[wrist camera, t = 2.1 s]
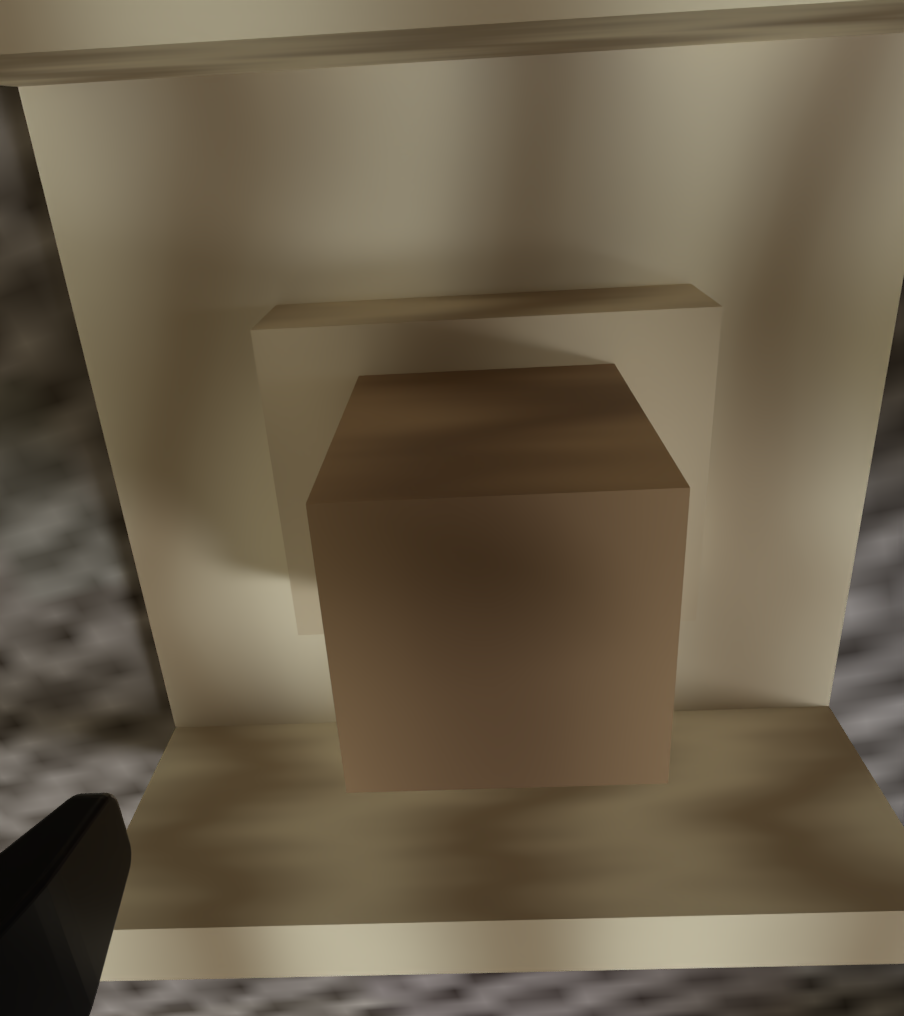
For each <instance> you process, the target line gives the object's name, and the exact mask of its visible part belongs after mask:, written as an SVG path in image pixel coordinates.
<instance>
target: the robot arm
mask: <svg viewBox="0 0 904 1016" xmlns="http://www.w3.org/2000/svg"><path fill="white" fill-rule="evenodd" d="M131 856H132V852H131V845H130V841H129V837H128V834H127V831H126V827H125V824H124V821H123V817H122V814H121V810H120V807H119V804H118V801H117V799H116V798H115V797H114V796H113V795H112V794H109V793H85V794H77V795H75V796H73V797H71V798H70V799H68V800H67V801H65V802H64V803H63V804H62V805H60V806H59V807H58V808H57V809H55V810H54V811H53V812H52V813H50V814H49V815H48V816H47V817H45V818H44V819H43V820H41V821H40V822H39V823H38V824H36V825H35V826H34V827H33V828H31V829H30V830H29V831H28V832H26V833H25V834H24V835H23V836H21V837H20V838H19V839H17V840H16V841H15V842H14V843H12V844H11V845H10V846H9V847H7V848H6V849H5V850H4V851H2V852H1V853H0V1016H89V1015H90V1012H91V1009H92V1006H93V1003H94V999H95V996H96V993H97V989H98V986H99V982H100V979H101V975H102V971H103V967H104V964H105V960H106V956H107V953H108V949H109V945H110V941H111V938H112V934H113V930H114V926H115V923H116V919H117V915H118V912H119V908H120V904H121V900H122V897H123V893H124V889H125V886H126V882H127V878H128V874H129V871H130V866H131Z"/></svg>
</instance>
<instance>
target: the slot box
mask: <svg viewBox="0 0 904 1016" xmlns="http://www.w3.org/2000/svg"><path fill="white" fill-rule="evenodd" d="M0 86H14V87H18V89H19V93H20V98H21V102H22V106H23V110H24V114H25V118H26V122H27V126H28V130H29V134H30V138H31V142H32V146H33V150H34V154H35V158H36V163H37V167H38V171H39V175H40V179H41V183H42V187H43V191H44V195H45V199H46V203H47V207H48V211H49V215H50V219H51V224H52V228H53V232H54V236H55V240H56V244H57V248H58V252H59V256H60V260H61V264H62V268H63V272H64V276H65V280H66V284H67V289H68V293H69V297H70V301H71V305H72V309H73V313H74V317H75V321H76V325H77V329H78V333H79V337H80V341H81V345H82V349H83V354H84V358H85V362H86V366H87V370H88V374H89V378H90V382H91V386H92V390H93V394H94V398H95V402H96V406H97V410H98V414H99V419H100V423H101V427H102V431H103V435H104V439H105V443H106V447H107V451H108V455H109V459H110V463H111V467H112V471H113V475H114V480H115V484H116V488H117V492H118V496H119V500H120V504H121V508H122V512H123V516H124V520H125V524H126V528H127V532H128V536H129V540H130V545H131V549H132V553H133V557H134V561H135V565H136V569H137V573H138V577H139V581H140V585H141V589H142V593H143V597H144V601H145V605H146V610H147V614H148V618H149V622H150V626H151V630H152V634H153V638H154V642H155V646H156V650H157V654H158V658H159V662H160V666H161V671H162V675H163V679H164V683H165V687H166V691H167V695H168V699H169V703H170V707H171V711H172V715H173V719H174V723H175V727H176V728H175V730H174V732H173V734H172V736H171V738H170V740H169V742H168V745H167V747H166V749H165V751H164V753H163V755H162V757H161V759H160V761H159V763H158V766H157V768H156V770H155V772H154V774H153V776H152V778H151V780H150V782H149V784H148V787H147V789H146V791H145V793H144V795H143V797H142V799H141V801H140V803H139V805H138V808H137V810H136V812H135V814H134V816H133V818H132V820H131V822H130V824H129V826H128V829H127V834H128V837H129V841H130V845H131V852H132V856H131V866H130V871H129V874H128V878H127V882H126V886H125V889H124V893H123V897H122V900H121V904H120V908H119V912H118V915H117V919H116V923H115V926H114V930H113V934H112V938H111V941H110V945H109V949H108V953H107V956H106V960H105V964H104V967H103V971H102V975H101V979H100V981H134V980H180V979H225V978H271V977H316V976H362V975H408V974H453V973H499V972H544V971H590V970H635V969H681V968H727V967H772V966H818V965H863V964H904V827H903V825H902V824H901V822H900V821H899V819H898V817H897V816H896V814H895V812H894V811H893V809H892V808H891V806H890V804H889V803H888V801H887V800H886V798H885V796H884V795H883V793H882V791H881V790H880V788H879V787H878V785H877V783H876V782H875V780H874V779H873V777H872V775H871V774H870V772H869V770H868V769H867V767H866V766H865V764H864V762H863V761H862V759H861V758H860V756H859V754H858V753H857V751H856V750H855V748H854V746H853V745H852V743H851V741H850V740H849V738H848V737H847V735H846V733H845V732H844V730H843V729H842V727H841V725H840V724H839V722H838V720H837V719H836V717H835V716H834V714H833V712H832V711H831V709H830V708H829V701H830V695H831V690H832V684H833V678H834V672H835V667H836V661H837V655H838V649H839V644H840V638H841V632H842V627H843V621H844V615H845V609H846V604H847V598H848V592H849V586H850V581H851V575H852V569H853V564H854V558H855V552H856V546H857V541H858V535H859V529H860V523H861V518H862V512H863V506H864V500H865V495H866V489H867V483H868V478H869V472H870V466H871V460H872V455H873V449H874V443H875V437H876V432H877V426H878V420H879V415H880V409H881V403H882V397H883V392H884V386H885V380H886V374H887V369H888V363H889V357H890V351H891V346H892V340H893V334H894V329H895V323H896V317H897V311H898V306H899V300H900V294H901V288H902V283H903V277H904V0H0ZM593 364H615V365H616V367H617V369H618V370H619V372H620V374H621V375H622V377H623V378H624V380H625V382H626V383H627V385H628V387H629V388H630V390H631V391H632V393H633V395H634V396H635V398H636V400H637V401H638V403H639V405H640V406H641V408H642V409H643V411H644V413H645V414H646V416H647V418H648V419H649V421H650V423H651V424H652V426H653V427H654V429H655V431H656V432H657V434H658V436H659V437H660V439H661V441H662V442H663V444H664V445H665V447H666V449H667V450H668V452H669V454H670V455H671V457H672V458H673V460H674V462H675V463H676V465H677V467H678V468H679V470H680V472H681V473H682V475H683V476H684V478H685V480H686V481H687V483H688V485H689V486H690V499H689V512H688V525H687V539H686V552H685V565H684V578H683V592H682V605H681V618H680V631H679V644H678V658H677V671H676V684H675V697H674V711H673V724H672V737H671V750H670V763H669V777H668V784H634V785H601V786H567V787H534V788H500V789H467V790H433V791H400V792H366V793H346V786H345V779H344V772H343V765H342V758H341V751H340V744H339V737H338V729H337V722H336V715H335V708H334V701H333V694H332V687H331V680H330V673H329V666H328V659H327V652H326V645H325V637H324V630H323V623H322V616H321V609H320V602H319V595H318V588H317V581H316V574H315V567H314V560H313V553H312V546H311V538H310V531H309V524H308V517H307V510H306V502H307V499H308V497H309V495H310V492H311V490H312V487H313V485H314V483H315V480H316V478H317V475H318V473H319V471H320V468H321V466H322V463H323V461H324V459H325V456H326V454H327V451H328V449H329V446H330V444H331V442H332V439H333V437H334V434H335V432H336V430H337V427H338V425H339V422H340V420H341V418H342V415H343V413H344V410H345V408H346V405H347V403H348V401H349V398H350V396H351V393H352V391H353V389H354V386H355V384H356V381H357V379H358V377H359V376H363V375H384V374H405V373H426V372H447V371H467V370H488V369H509V368H530V367H551V366H572V365H593Z"/></svg>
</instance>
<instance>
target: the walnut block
mask: <svg viewBox="0 0 904 1016" xmlns="http://www.w3.org/2000/svg"><path fill="white" fill-rule="evenodd" d="M689 499H690V486H689V485H688V483H687V481H686V480H685V478H684V476H683V475H682V473H681V472H680V470H679V468H678V467H677V465H676V463H675V462H674V460H673V458H672V457H671V455H670V454H669V452H668V450H667V449H666V447H665V445H664V444H663V442H662V441H661V439H660V437H659V436H658V434H657V432H656V431H655V429H654V427H653V426H652V424H651V423H650V421H649V419H648V418H647V416H646V414H645V413H644V411H643V409H642V408H641V406H640V405H639V403H638V401H637V400H636V398H635V396H634V395H633V393H632V391H631V390H630V388H629V387H628V385H627V383H626V382H625V380H624V378H623V377H622V375H621V374H620V372H619V370H618V369H617V367H616V365H615V364H593V365H572V366H551V367H530V368H509V369H488V370H467V371H447V372H426V373H405V374H384V375H363V376H359V377H358V379H357V381H356V384H355V386H354V389H353V391H352V393H351V396H350V398H349V401H348V403H347V405H346V408H345V410H344V413H343V415H342V418H341V420H340V422H339V425H338V427H337V430H336V432H335V434H334V437H333V439H332V442H331V444H330V446H329V449H328V451H327V454H326V456H325V459H324V461H323V463H322V466H321V468H320V471H319V473H318V475H317V478H316V480H315V483H314V485H313V487H312V490H311V492H310V495H309V497H308V499H307V502H306V510H307V517H308V524H309V531H310V538H311V546H312V553H313V560H314V567H315V574H316V581H317V588H318V595H319V602H320V609H321V616H322V623H323V630H324V637H325V645H326V652H327V659H328V666H329V673H330V680H331V687H332V694H333V701H334V708H335V715H336V722H337V729H338V737H339V744H340V751H341V758H342V765H343V772H344V779H345V786H346V793H366V792H400V791H433V790H467V789H500V788H534V787H567V786H601V785H634V784H668V777H669V763H670V750H671V737H672V724H673V711H674V697H675V684H676V671H677V658H678V644H679V631H680V618H681V605H682V592H683V578H684V565H685V552H686V539H687V525H688V512H689Z"/></svg>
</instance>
